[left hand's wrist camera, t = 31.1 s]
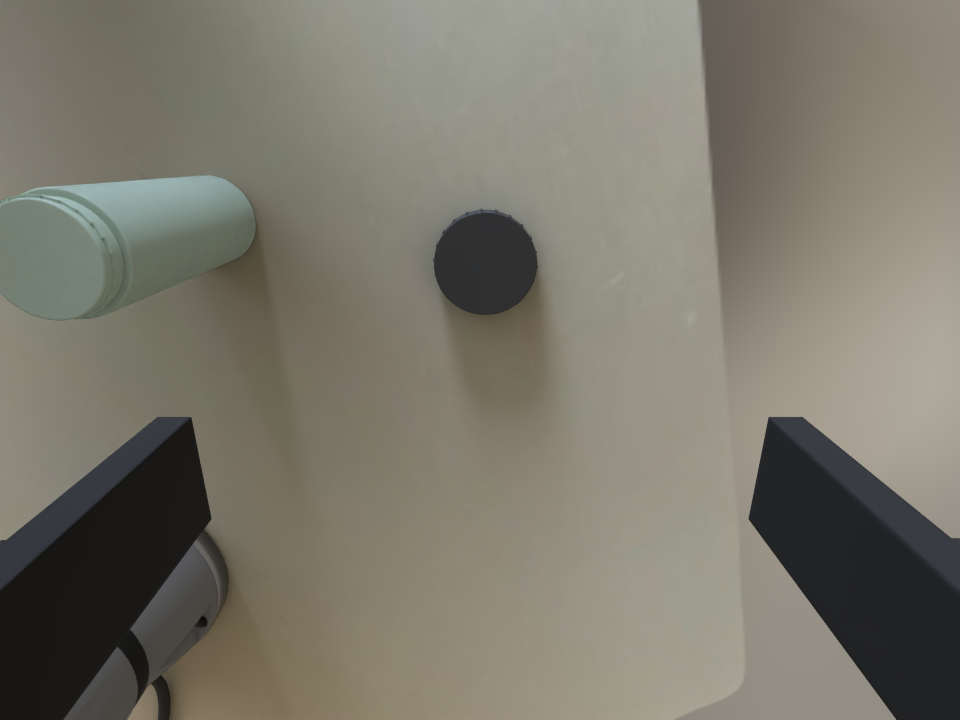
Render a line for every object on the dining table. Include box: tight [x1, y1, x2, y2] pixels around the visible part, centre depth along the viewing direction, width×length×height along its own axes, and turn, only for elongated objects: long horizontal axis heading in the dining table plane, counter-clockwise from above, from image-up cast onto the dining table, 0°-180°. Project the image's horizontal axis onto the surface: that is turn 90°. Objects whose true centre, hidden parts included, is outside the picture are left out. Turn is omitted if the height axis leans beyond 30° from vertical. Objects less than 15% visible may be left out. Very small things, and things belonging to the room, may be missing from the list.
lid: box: [433, 209, 537, 315], centre depth 37 cm, size 7×7×2 cm
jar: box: [0, 175, 256, 320], centre depth 29 cm, size 6×6×15 cm
